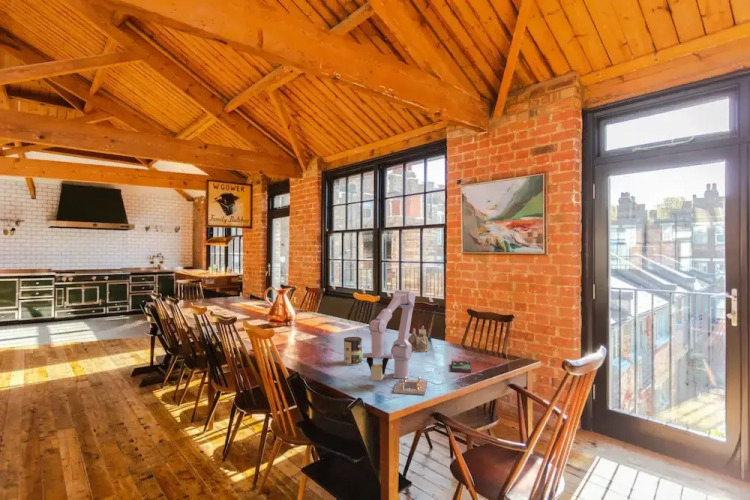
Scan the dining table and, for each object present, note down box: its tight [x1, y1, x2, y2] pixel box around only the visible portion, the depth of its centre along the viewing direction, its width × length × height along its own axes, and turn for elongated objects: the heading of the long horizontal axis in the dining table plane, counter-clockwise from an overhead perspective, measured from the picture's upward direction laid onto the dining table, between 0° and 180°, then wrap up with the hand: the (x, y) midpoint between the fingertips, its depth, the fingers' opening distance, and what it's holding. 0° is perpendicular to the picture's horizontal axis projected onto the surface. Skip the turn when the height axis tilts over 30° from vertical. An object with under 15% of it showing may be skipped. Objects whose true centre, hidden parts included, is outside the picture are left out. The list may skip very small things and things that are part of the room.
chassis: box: [393, 376, 428, 396], centre depth 195 cm, size 15×14×4 cm
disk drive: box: [450, 360, 472, 374], centre depth 228 cm, size 10×3×15 cm
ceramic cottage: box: [408, 325, 431, 353], centre depth 271 cm, size 16×16×15 cm
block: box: [370, 361, 386, 381], centre depth 199 cm, size 8×5×6 cm, turn 168°
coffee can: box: [343, 336, 363, 366], centre depth 240 cm, size 10×10×14 cm
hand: (377, 373), depth 199 cm, fingers closed on block, 5 cm apart
